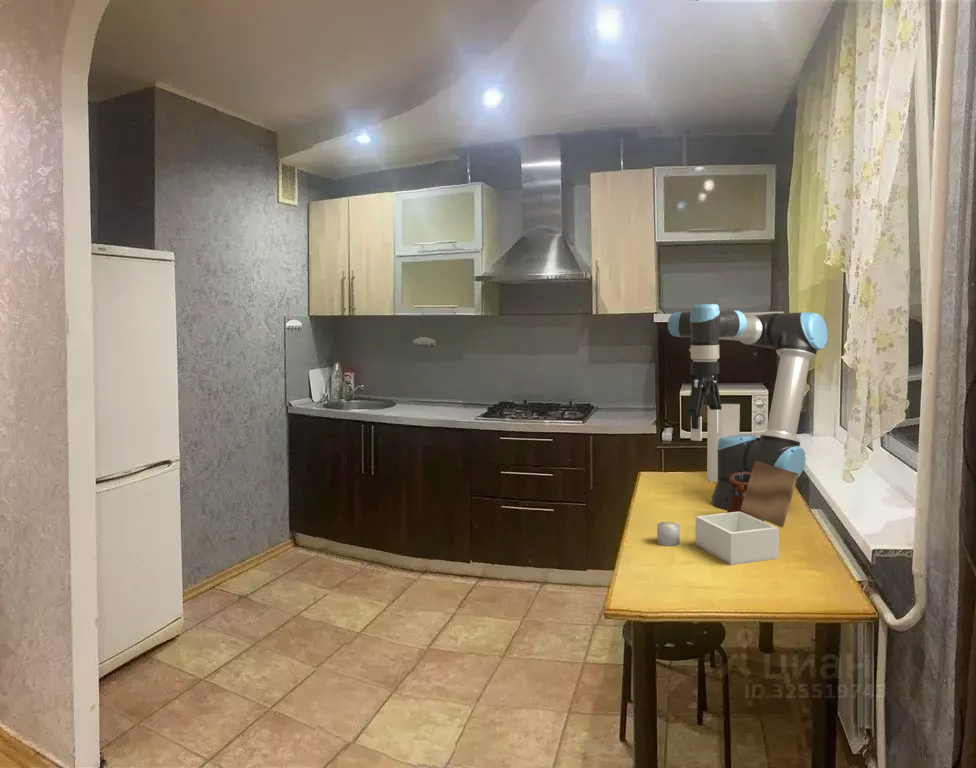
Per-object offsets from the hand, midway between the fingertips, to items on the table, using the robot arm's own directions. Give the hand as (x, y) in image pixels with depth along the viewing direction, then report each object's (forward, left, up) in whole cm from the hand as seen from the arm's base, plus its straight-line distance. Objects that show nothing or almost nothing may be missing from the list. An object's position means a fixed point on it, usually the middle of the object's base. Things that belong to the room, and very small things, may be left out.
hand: (704, 436), depth 188 cm
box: (-1, +12, -29) cm, 32 cm away
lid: (-11, +12, -14) cm, 22 cm away
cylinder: (-47, -56, -29) cm, 79 cm away
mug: (-16, -6, -29) cm, 34 cm away
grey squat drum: (+12, 0, -29) cm, 31 cm away
